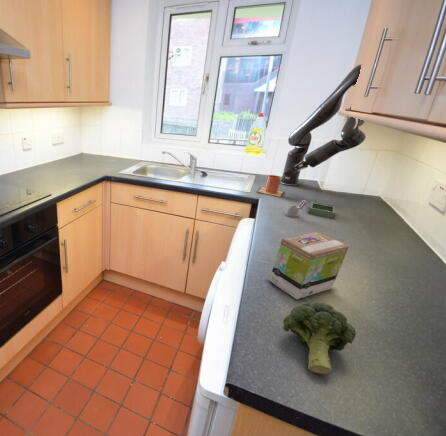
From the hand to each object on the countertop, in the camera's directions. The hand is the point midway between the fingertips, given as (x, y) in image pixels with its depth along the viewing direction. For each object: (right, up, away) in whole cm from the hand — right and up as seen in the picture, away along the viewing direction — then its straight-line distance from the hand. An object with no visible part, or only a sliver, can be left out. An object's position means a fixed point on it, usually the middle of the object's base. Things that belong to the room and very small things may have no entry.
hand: (288, 173), depth 163 cm
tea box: (-39, -45, -75) cm, 96 cm away
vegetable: (-51, -54, -98) cm, 123 cm away
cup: (-5, -9, +9) cm, 14 cm away
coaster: (-5, -9, +9) cm, 14 cm away
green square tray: (+5, -22, -19) cm, 30 cm away
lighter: (-11, -24, -24) cm, 35 cm away
